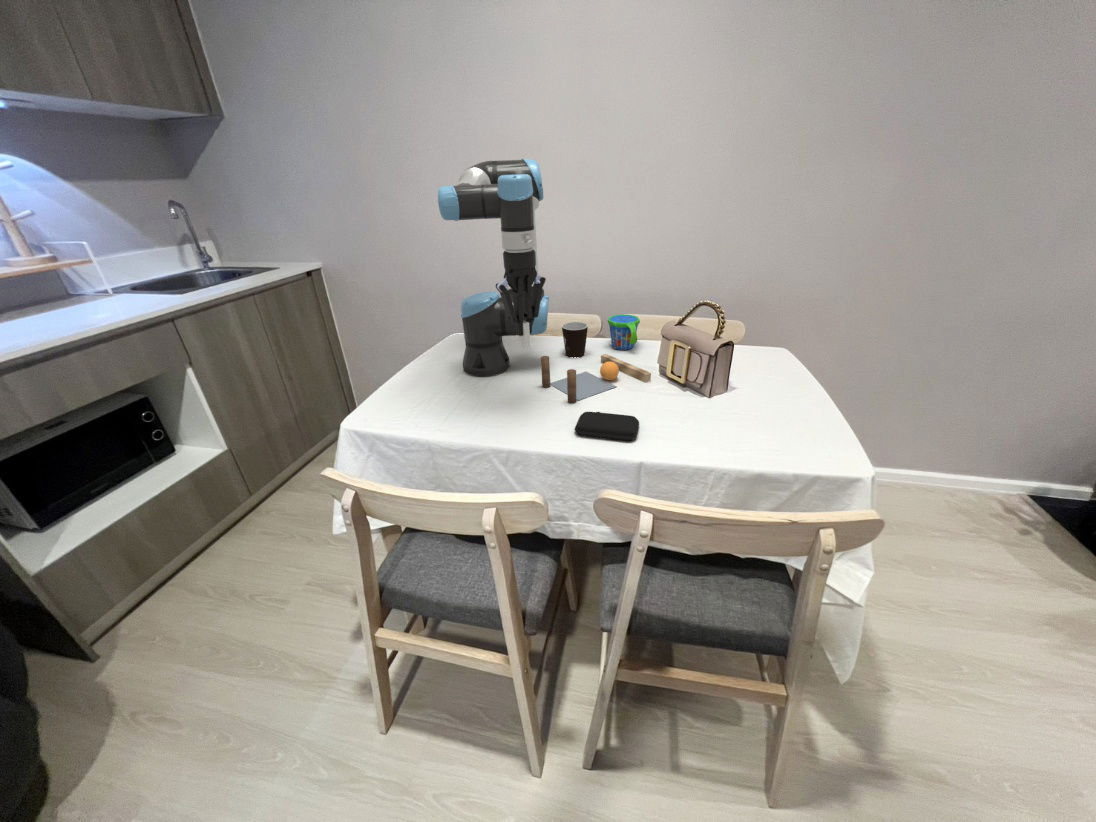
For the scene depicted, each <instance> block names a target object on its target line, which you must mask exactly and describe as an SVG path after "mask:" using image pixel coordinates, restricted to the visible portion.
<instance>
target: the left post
mask: <svg viewBox="0 0 1096 822" xmlns="http://www.w3.org/2000/svg"><path fill="white" fill-rule="evenodd" d="M550 365H551V364H550V356H549V355H543V356H541V357H540V368H541V371H540V372H541V386H542V387H541V388H543V389H548V388H551V385H550V383H551V366H550Z"/></svg>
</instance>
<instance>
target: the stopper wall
mask: <svg viewBox="0 0 1096 822" xmlns="http://www.w3.org/2000/svg"><path fill="white" fill-rule="evenodd" d="M605 362H614V363H615V364H616V365H617V366H618V368H619V372H621V373H623V374H626V375H628V376H629V377H632V378H635V379H636V380H638V381H641V382H643V383H648V382H651V377H652V373H651V372H650V371H647V370H644V369H643V368H640V367H638V366H636V365H634V364H631V363H629V362H626V361H624V360H622V359H619V358H617V357H614V356H612V355H609V354H608V353H604V354H601V355H600V364H601V363H602V365H603V364H604V363H605Z"/></svg>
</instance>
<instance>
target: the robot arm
mask: <svg viewBox="0 0 1096 822" xmlns="http://www.w3.org/2000/svg"><path fill="white" fill-rule="evenodd" d="M540 169H541V168H540V165H539V163H538V161H537V160H534V159H525V158H521V159H509V160H508V159H507V160H505V159H504V160H485V161H482V162H479V163H476V164H474V165H471V166H470V167H468V168H466V169H465V170H464V171H463V172H462V173H461V174H460V177H459V179H458V183H457V184H456V185H451V184H450V185H445V186H440V187H439V188H438V190H437V200H438V201H437V202H438V203H437V205H438V209H439V214H440V216H441V218H442V219H443V220H444V221H454V222H458V221H467V220H471V221H472V220H491V219H493V220H495V219H500V231H501V232H500V233H501V244H502V246H501V248H502V249H503V250H504V251H503V253H502V256H503V257H502V258H503V267H504V274H503V280H501V281H500V283H496V284H495V288H496V291H498V292H499V293H498V292H496V291H484V292H483V291H482V292H478V293H475V294H472V295H471V294H470V296H467V297H465V298H464V299H463V300H462V301H461V304H460V311H461V314H460V318H461V320H462V328H463V334H464V335H463V336H464V342H465V349H464V354H463V357H462V371H463V372H464V373H465V374H466V375H469V376H472V377H481V378H482V377H483V378H486V377H491V376H497V375H500V374H503V373H505V372H508V370H509V369H510V367H511V360H510V356H509V354H508V352H507V349H506V348H505V346H504V345H505V344H504V342H503V341H504V340H503V337H510V336H513V337H514V336H515V337H517V336H519V337H518V338H519V347H521V348H523V349H525V350H526V349H530V348H531V336H534V335H542V334H544V333H546V332H547V328H548V315H549V314H548V313H549V305H550V304H549V301H550V296H549V295H547V294H545V290H544V285H545V283H546V280H547V279H546V277H545V276H541V275H539V265H538V249H537V247H538V246H537V229H536V228H537V226H536V210H537V209H538V208H539V206H540V202H541V201H543V200H544V188H543V179H542V173H541V170H540Z"/></svg>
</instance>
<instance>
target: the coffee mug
mask: <svg viewBox="0 0 1096 822" xmlns="http://www.w3.org/2000/svg"><path fill="white" fill-rule="evenodd" d="M588 328H589V324H587V323H586V322H581V321H580V322H579V321H570V322H566V323H563V324H561V330H562V331H561V332H562V338H563V345H564V352H565V356H566V357H567V356H568V358H570V357H573V358H572V359H578V358H577V357H579V358H582V356H583V357H584V356H585V355H584V354H585V353H586V346H587V345H586V344H587V336H588V331H589V329H588ZM574 357H576V358H574Z"/></svg>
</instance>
